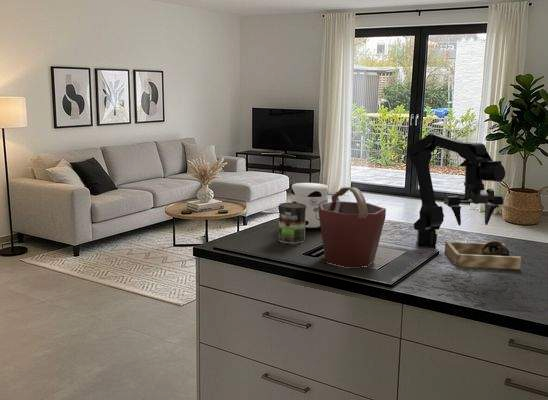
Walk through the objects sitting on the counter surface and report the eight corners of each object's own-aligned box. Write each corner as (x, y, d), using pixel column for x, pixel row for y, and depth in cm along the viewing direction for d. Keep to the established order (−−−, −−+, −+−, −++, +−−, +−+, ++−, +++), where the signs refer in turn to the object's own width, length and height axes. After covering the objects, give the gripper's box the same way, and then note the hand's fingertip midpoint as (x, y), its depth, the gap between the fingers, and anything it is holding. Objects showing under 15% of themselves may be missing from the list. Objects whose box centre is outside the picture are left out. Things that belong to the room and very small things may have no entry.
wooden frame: (456, 266, 184) (457, 254, 183) (444, 251, 201) (445, 241, 200) (519, 269, 182) (521, 257, 181) (502, 254, 199) (503, 243, 198)
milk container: (330, 232, 225) (332, 189, 222) (288, 231, 226) (289, 188, 222) (327, 223, 243) (328, 182, 239) (287, 222, 243) (289, 181, 239)
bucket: (315, 250, 199) (318, 182, 195) (377, 251, 199) (381, 183, 194) (319, 271, 175) (322, 194, 171) (388, 273, 175) (393, 196, 170)
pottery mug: (516, 267, 185) (509, 248, 183) (489, 277, 188) (481, 258, 185) (505, 249, 196) (498, 231, 193) (479, 259, 199) (472, 241, 196)
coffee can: (299, 245, 204) (301, 208, 202) (274, 242, 208) (275, 206, 206) (308, 239, 214) (309, 203, 211) (283, 236, 218) (284, 201, 215)
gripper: (454, 182, 180) (453, 229, 182) (511, 181, 180) (509, 228, 182) (443, 179, 191) (443, 224, 193) (497, 178, 191) (496, 223, 193)
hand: (472, 225), depth 190 cm, fingers open, 9 cm apart
